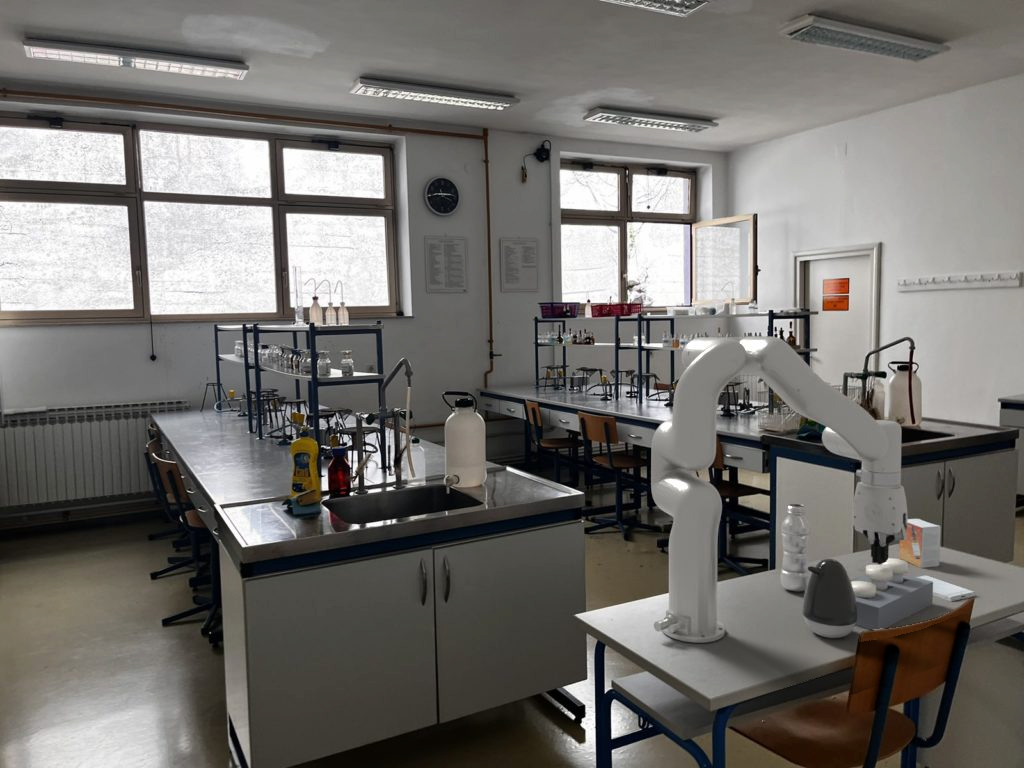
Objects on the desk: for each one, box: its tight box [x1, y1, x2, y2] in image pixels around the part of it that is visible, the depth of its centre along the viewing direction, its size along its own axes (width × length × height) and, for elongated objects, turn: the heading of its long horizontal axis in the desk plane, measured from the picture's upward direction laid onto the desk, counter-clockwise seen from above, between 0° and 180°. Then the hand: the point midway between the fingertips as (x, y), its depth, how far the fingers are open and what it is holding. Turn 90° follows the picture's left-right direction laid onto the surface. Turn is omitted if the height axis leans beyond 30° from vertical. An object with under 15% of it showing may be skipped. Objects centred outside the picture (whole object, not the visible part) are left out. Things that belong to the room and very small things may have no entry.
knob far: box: [881, 557, 909, 584], centre depth 168 cm, size 5×5×6 cm
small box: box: [898, 518, 942, 569], centre depth 194 cm, size 8×6×10 cm
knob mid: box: [865, 564, 893, 592], centre depth 163 cm, size 5×5×6 cm
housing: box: [850, 573, 934, 630], centre depth 164 cm, size 24×12×5 cm, turn 128°
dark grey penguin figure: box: [801, 558, 857, 639], centre depth 151 cm, size 10×10×15 cm
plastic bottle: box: [779, 503, 812, 592], centre depth 175 cm, size 6×7×20 cm
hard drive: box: [915, 575, 977, 602], centre depth 175 cm, size 2×8×12 cm
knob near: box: [851, 581, 876, 599], centre depth 159 cm, size 5×5×6 cm
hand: (879, 562), depth 163 cm, fingers closed
